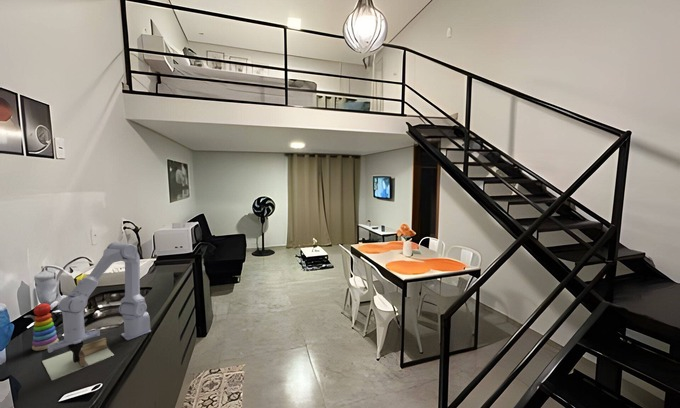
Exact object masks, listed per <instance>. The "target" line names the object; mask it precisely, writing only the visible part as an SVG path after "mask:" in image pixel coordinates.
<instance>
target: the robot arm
mask: <svg viewBox="0 0 680 408" xmlns="http://www.w3.org/2000/svg"><path fill="white" fill-rule="evenodd" d="M140 257H141V256H140V254H139V252H138V246H137V245H135V244H133V243H124V242H123V243H122V242H116V241H115V242H111V243H110V244H108V245H107V246H106V248H105V249H104V250H103V254H102V256H101V258H99V261H98V263H97V264H96V265H95V267H93V269H92V270H91V272H90V274H89V275H88V276H84V277H82V279H79V280H78V282H77V284H76V286H75V287H73V289H72V291H70V292H69V294H68V295H66V296H65V297H63V298H62V299H61V300H60V301H59V305H57V309H58V310H59V311H61V315H62V323H63V339H61V340H59V341H58V342H57V343H54V344H52V345H49V346H47V352H48V354H49V353H52V352H54V351H57V350H60V349H62V348H65V347H67V348H68V349H69V351H72V352H73V361H74V363H76V362H78V361H79V352H80V350H81V348H82V347H83V345H84V342H83V341H85V340H89V339H92V338H95V337H99V336H101V331H100V329H95V330H92V331H91V330H90V331H88V332H86V330H85V328H86V327H85V315H84V309H85V308H87V305H88V300H89V298H90V296H91V294H92V293H93V292H94V290H95V289H96V288H97V287H98V285H99V279H100V278H101V277H102V276H103V275H104V273H105V272H106V271H107V270H108V269H109V268H110V267H111V266H112V264H114V263H118V262H120V261H121V262H124V296H123V298H121V299H120V304H119V307H118V312H119V314H120V315H121V316H122V317H123V327H124V328H123V329H124V330H123V331H124V332H123V333H121V334H120V335H121V337H123V338H124V339H125V340H126V341H130V340H133V339H135V338H138V337H140V336H143V335H145V334H148V333H151V332H152V330H151V319H150V318H151V317H150V315H149V312H148V311H147V308H148V306H147V303H146V299H145V297H144V296H142V294H141V290H140V289H141V287H140V286H141V285H140V284H141V282H140V281H141V278H140V277H141V276H140V275H141V273H140V267H141V266H140V263H141V258H140Z"/></svg>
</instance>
